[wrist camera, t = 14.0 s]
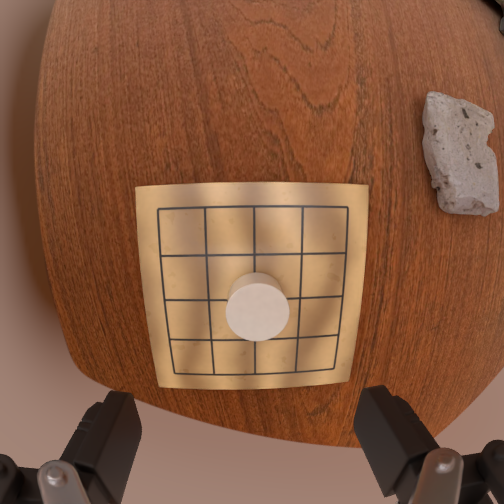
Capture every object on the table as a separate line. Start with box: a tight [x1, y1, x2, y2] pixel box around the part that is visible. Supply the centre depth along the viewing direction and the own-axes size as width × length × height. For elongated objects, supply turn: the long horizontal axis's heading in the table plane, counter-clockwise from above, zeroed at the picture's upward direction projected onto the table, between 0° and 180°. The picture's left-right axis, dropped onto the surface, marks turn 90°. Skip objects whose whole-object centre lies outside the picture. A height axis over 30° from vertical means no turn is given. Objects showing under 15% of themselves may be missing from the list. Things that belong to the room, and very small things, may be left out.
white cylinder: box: [226, 272, 290, 341], centre depth 24 cm, size 5×5×3 cm
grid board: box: [135, 182, 369, 390], centre depth 26 cm, size 20×20×1 cm
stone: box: [422, 91, 499, 216], centre depth 22 cm, size 13×6×10 cm
